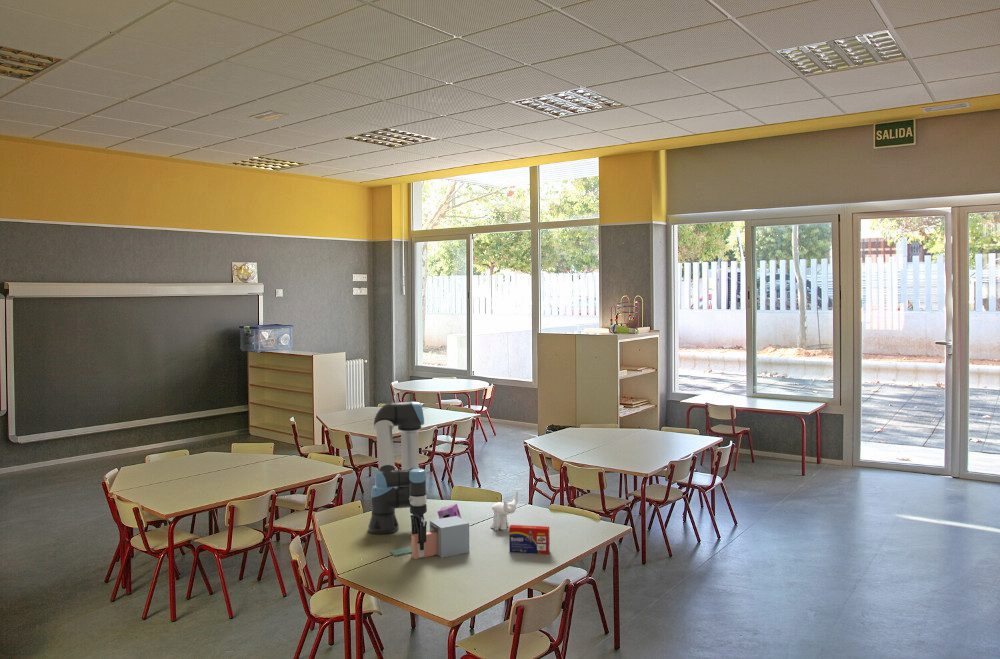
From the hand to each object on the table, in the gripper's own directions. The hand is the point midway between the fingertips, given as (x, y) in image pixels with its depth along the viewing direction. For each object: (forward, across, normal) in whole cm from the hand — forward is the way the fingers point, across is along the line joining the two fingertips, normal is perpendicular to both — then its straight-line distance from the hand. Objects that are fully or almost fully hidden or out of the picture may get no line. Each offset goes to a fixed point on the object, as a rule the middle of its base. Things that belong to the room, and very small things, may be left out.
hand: (419, 555), depth 330 cm
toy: (+1, -19, +25) cm, 32 cm away
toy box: (+1, +20, +46) cm, 50 cm away
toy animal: (+1, -17, +53) cm, 56 cm away
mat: (+1, -9, -1) cm, 9 cm away
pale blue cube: (+1, 0, +15) cm, 15 cm away
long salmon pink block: (+1, 0, +5) cm, 5 cm away
